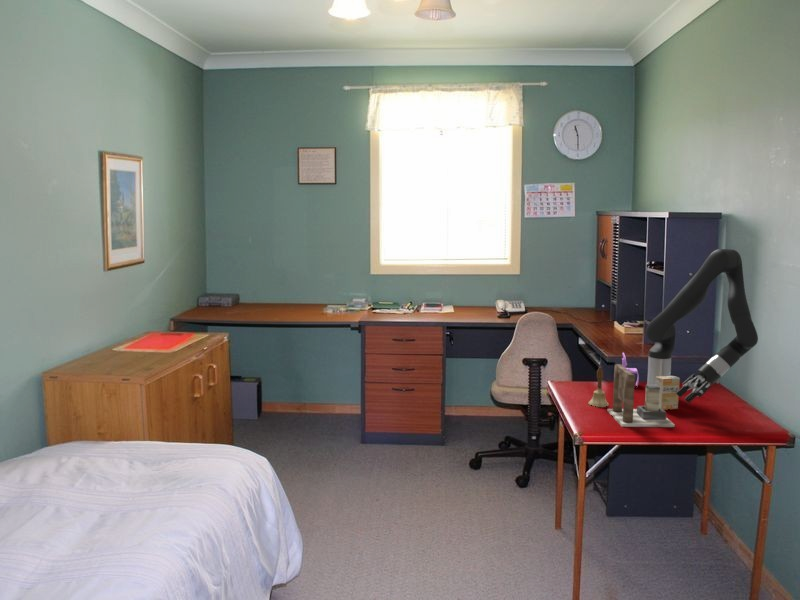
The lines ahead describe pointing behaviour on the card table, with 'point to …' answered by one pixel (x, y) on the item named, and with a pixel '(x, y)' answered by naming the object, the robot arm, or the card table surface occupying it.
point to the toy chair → (632, 370)
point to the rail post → (652, 398)
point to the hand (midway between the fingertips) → (682, 398)
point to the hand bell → (599, 392)
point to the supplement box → (668, 391)
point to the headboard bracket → (632, 404)
